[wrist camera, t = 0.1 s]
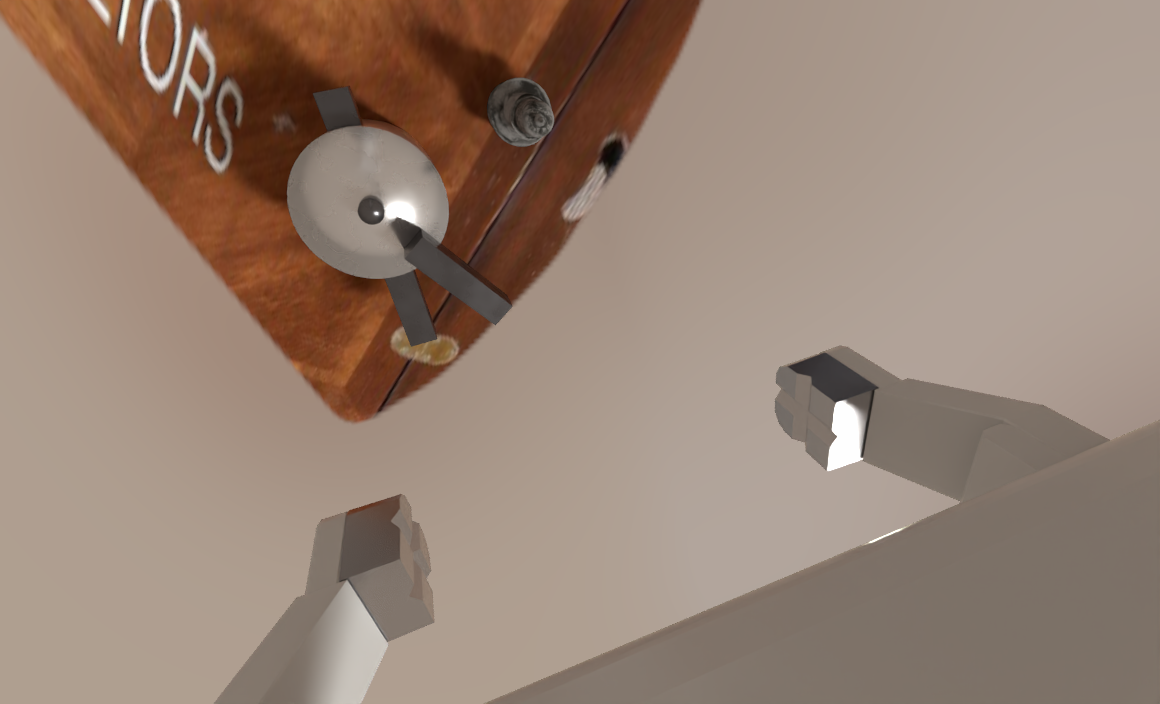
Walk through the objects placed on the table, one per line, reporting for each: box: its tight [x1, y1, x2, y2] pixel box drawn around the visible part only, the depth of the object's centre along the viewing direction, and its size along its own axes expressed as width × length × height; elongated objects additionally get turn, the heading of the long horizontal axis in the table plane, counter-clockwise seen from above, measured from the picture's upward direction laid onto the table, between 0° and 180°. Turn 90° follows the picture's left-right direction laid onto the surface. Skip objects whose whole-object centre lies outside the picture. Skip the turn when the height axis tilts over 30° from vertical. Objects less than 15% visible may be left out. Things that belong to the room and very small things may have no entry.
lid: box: [287, 125, 512, 325], centre depth 44 cm, size 20×12×4 cm, turn 45°
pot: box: [313, 86, 437, 346], centre depth 49 cm, size 23×12×8 cm, turn 10°
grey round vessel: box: [487, 78, 554, 147], centre depth 46 cm, size 6×6×12 cm
